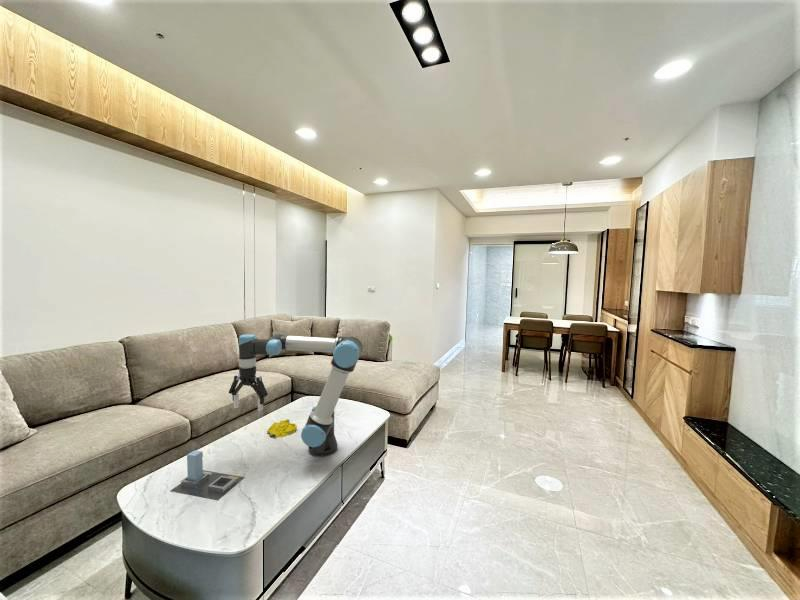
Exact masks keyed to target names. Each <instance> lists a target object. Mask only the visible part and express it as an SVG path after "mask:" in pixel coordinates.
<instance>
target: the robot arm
mask: <svg viewBox="0 0 800 600" xmlns="http://www.w3.org/2000/svg"><path fill="white" fill-rule="evenodd" d="M283 350H284V351H300V352H301V351H302V352H303V351H304V352H313V353H315V352H316V353H320V352H321V353H332V354H333V356H332V359H331V361H330V365H331V370H330V372H329V375H328V378H327V380H326V382H325V385H324V387H323V389H322V392H321V394H320V396H319V399H318V401H317V405H316V406H314V407H312V409H311V412H310V413H309V416H308V419H307V421H306V423H305V425H304V426H303V428H302V429H301V433H300V437H301V440H302V443H304V444H305V445H306V446H308V453H309V454H310V455H312V456H314V457H326V456H330V455H333V454H334V453H335V452H337V450H338V448H339V447H338V441H337V438H336V436H335V409H336V406H337V404H338V402H339V399H340V396H341V394H342V392H343V390H344V386H345V384H346V381H347V379H348V376H349V374H350V373H353V372H354V370H355V367H356V365H357V363H358V362H359V361H358V360H359V358H360V356H361V354H362V353H363V350H364V349H363V343H362V341H361V340H360V339H359V338H358V337H354V336H337V337H320V336H319V337H318V336H305V335H304V336H303V335H302V336H301V335H287V334H284V333H277V334H275V335H273V336H271V337H268V338H259V339H258V338H257V337H256V335H255V334H251V333H250V334H249V333H248V334H242V335H239V337H238V366H239V368H238V371H239V372H238V374H236V375H234V376H233V381H232V383H231V385H230V388H229V391H228V394H229V395H230V394H231V395H232V402H233V409H235V410H236V409H237V408H239V407H240V394H239V391H240V390H241V389H242V388H243V387H244V386H248V387H250V388H252V389H253V391H254V392H255V393H256V395H257V396H258V397H257V412H261V411H263V409H264V403H265V397H267V396H268V395H269V393H268V391H267V389H266V387H265V385H264V382H263V376H256V375H257V366H256V365H257V355H259V356H260V355H262V356H266V355H267V356H278V355H280V354H281V351H283Z"/></svg>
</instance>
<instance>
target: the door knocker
mask: <svg viewBox="0 0 800 600" xmlns="http://www.w3.org/2000/svg"><path fill="white" fill-rule="evenodd" d="M296 430H297V424H296V423H291V422H290V419H287V418H286V419H284V420H280V421H279V422H273V424H271V425H270V426H269V428H268V429H267V432H266V433H267V434H268V435H269V436H270V437H272V436H273V435H275V436H274V437H275V438H274V439H277V438H284V437H287V436H290V435H292V434H295V432H296Z"/></svg>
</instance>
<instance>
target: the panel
mask: <svg viewBox="0 0 800 600" xmlns="http://www.w3.org/2000/svg"><path fill="white" fill-rule="evenodd" d="M245 478H246V477H245V476H241V475H240V476H239V475H232V474H229V473H228V474H227V473H223V472H217V471H216V472H215V471H209V470H204V469H203V477H202V478H200V479H199V480H197V481H196V482H193V481H188V475H187V476H186V477H185V478H182V479H181V480H180V484H178V485H176V486H175V487H173V488H172V489H170V492H171V493H177V494H182V495H187V496H191V497H192V496H193V497H198V498H203V499H208V500H212V501H219V500H220V499H222V498H223V497H224V496H225V495H226V494H228V493H229V492H230V491H231V490H232V489H233V488H234V487H236V486H237V485H238V484H239V483H241V481H244V479H245Z"/></svg>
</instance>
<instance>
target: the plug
mask: <svg viewBox="0 0 800 600" xmlns="http://www.w3.org/2000/svg"><path fill="white" fill-rule="evenodd" d="M203 454H204V452H203V451H201V450H198V449H197V450H192V451H191V452H190V453H188V454H187V455H186V464H187V465H186V466H187V467H186V468H187V476H188V481H193V482H196V481H197V480H199V479H200V478H202V477H203V470H204V469H203V467H204V466H203V457H204V455H203Z"/></svg>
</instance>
